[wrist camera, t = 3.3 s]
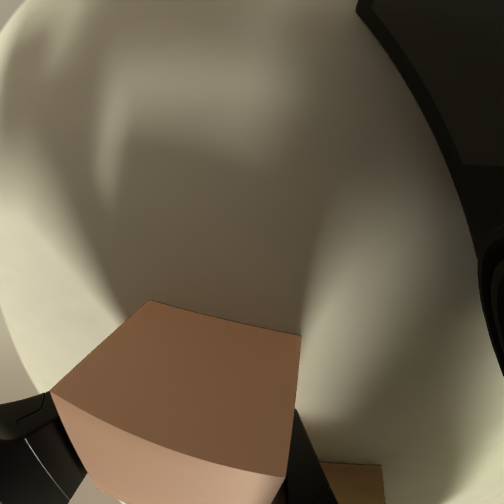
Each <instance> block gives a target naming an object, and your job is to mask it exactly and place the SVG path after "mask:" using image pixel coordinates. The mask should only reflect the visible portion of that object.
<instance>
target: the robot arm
mask: <svg viewBox="0 0 504 504" xmlns="http://www.w3.org/2000/svg"><path fill="white" fill-rule="evenodd" d="M87 473H88V472H87V471H86V469H85V467H84V465H83V463H82V462H81V460H80V458H79V456H78V454H77V452H76V450H75V448H74V446H73V444H72V442H71V440H70V438H69V436H68V434H67V432H66V430H65V427H64V425H63V423H62V421H61V418H60V416H59V414H58V411H57V409H56V406H55V404H54V401H53V399H52V396H51V393H50V391H48V392H46V393H42V394H39V395H36V396H33V397H29V398H26V399H23V400H18V401H15V402H9V403H5V404H0V504H68V502H69V500H70V499H71V498H72V496H73V495H74V493H75V492H76V490H77V488H78V487H79V485H80V484H81V482H82V481H83V479H84V478H85V476H86V474H87ZM271 504H339V503H338V501H337V499H336V497H335V495H334V493H333V490H332V488H330V484H329V482H328V480H327V477H326V475H325V473H324V471H323V469H322V466H321V464H320V462H319V460H318V457H317V455H316V453H315V451H314V448H313V446H312V444H311V441H310V439H309V437H308V435H307V432H306V430H305V428H304V425H303V423H302V421H301V419H300V416H299V414H298V412H297V410H296V409H295V408H294V417H293V425H292V434H291V441H290V449H289V456H288V463H287V470H286V476H285V479H284V481H283V483H282V485H281V487H280V489H279V490H278V492H277V494H276V496H275V497H274V499H273V501H272V503H271Z"/></svg>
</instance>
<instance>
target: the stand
mask: <svg viewBox="0 0 504 504" xmlns="http://www.w3.org/2000/svg"><path fill="white" fill-rule="evenodd" d="M320 464H321V466H322V469H323V471H324V473H325V475H326V477H327V480H328V482H329V484H330V488H332V490H333V493H334V495H335V497H336V499H337V501H338V503H339V504H385V495H384V485H383V476H382V467H381V465H353V464H337V463H325V462H320Z"/></svg>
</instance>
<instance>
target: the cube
mask: <svg viewBox="0 0 504 504" xmlns="http://www.w3.org/2000/svg"><path fill="white" fill-rule="evenodd" d="M300 346H301V336H298V335H293V334H288V333H283V332H278V331H273V330H268V329H264V328H259V327H254V326H250V325H245V324H241V323H236V322H232V321H228V320H224V319H219V318H215V317H211V316H207V315H203V314H199V313H195V312H191V311H188V310H184V309H180V308H176V307H173V306H169V305H165V304H162V303H158V302H155V301H151V300H149V301H148V302H147V303H146V304H145V305H143V306H142V307H141V308H140V309H139V310H138V311H137V312H135V313H134V314H133V315H132V316H131V317H130V318H129V319H127V320H126V321H125V322H124V323H123V324H122V325H121V326H120V327H118V328H117V329H116V330H115V331H114V332H113V333H112V334H111V335H110V336H108V337H107V338H106V339H105V340H104V341H103V342H102V343H101V344H100V345H98V346H97V347H96V348H95V349H94V350H93V351H92V352H91V353H90V354H88V355H87V356H86V357H85V358H84V359H83V360H82V361H81V362H80V363H79V364H78V365H76V366H75V367H74V368H73V369H72V370H71V371H70V372H69V373H68V374H67V375H66V376H65V377H64V378H62V379H61V380H60V381H59V382H58V383H57V384H56V385H55V386H54V387H53V388H52V389H51V390H50V393H51V396H52V399H53V401H54V404H55V406H56V409H57V411H58V414H59V416H60V418H61V421H62V423H63V425H64V427H65V430H66V432H67V434H68V436H69V438H70V440H71V442H72V444H73V446H74V448H75V450H76V452H77V454H78V456H79V458H80V460H81V462H82V463H83V465H84V467H85V469H86V471H87V472H88V474H89V476H90V477H91V479H92V481H93V483H94V484H95V486H96V487H97V489H99V490H101V491H103V492H105V493H107V494H109V495H110V496H112V497H114V498H116V499H118V500H121V501H123V502H125V503H127V504H271V503H272V501H273V499H274V497H275V496H276V494H277V492H278V490H279V489H280V487H281V485H282V483H283V481H284V479H285V476H286V470H287V463H288V456H289V449H290V441H291V434H292V425H293V417H294V408H295V399H296V390H297V380H298V369H299V358H300Z"/></svg>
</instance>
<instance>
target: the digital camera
mask: <svg viewBox="0 0 504 504" xmlns="http://www.w3.org/2000/svg"><path fill="white" fill-rule="evenodd" d="M356 13H357V14H358V15H359V16H360V18H361V19H362V20H363V21H364V23H365V24H366V25H367V26H368V28H369V29H370V30H371V32H372V33H373V34H374V36H375V37H376V38H377V40H378V41H379V43H380V44H381V45H382V47H383V48H384V50H385V51H386V53H387V54H388V55H389V57H390V58H391V60H392V61H393V63H394V64H395V66H396V68H397V69H398V71H399V72H400V74H401V75H402V77H403V79H404V80H405V82H406V84H407V85H408V87H409V89H410V91H411V92H412V94H413V96H414V98H415V99H416V101H417V103H418V105H419V107H420V108H421V110H422V112H423V114H424V116H425V118H426V120H427V122H428V124H429V126H430V128H431V130H432V132H433V134H434V136H435V138H436V141H437V143H438V145H439V147H440V150H441V152H442V154H443V156H444V159H445V161H446V164H447V166H448V168H449V171H450V174H451V176H452V179H453V181H454V184H455V187H456V189H457V192H458V195H459V198H460V201H461V204H462V207H463V210H464V213H465V216H466V219H467V223H468V226H469V229H470V233H471V237H472V240H473V244H474V248H475V252H476V256H477V260H478V271H477V274H478V285H479V292H480V299H481V304H482V309H483V313H484V317H485V321H486V325H487V329H488V332H489V336H490V339H491V343H492V346H493V349H494V352H495V354H496V357H497V360H498V363H499V366H500V369H501V371H502V374H503V376H504V0H358V2H357V6H356Z"/></svg>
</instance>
